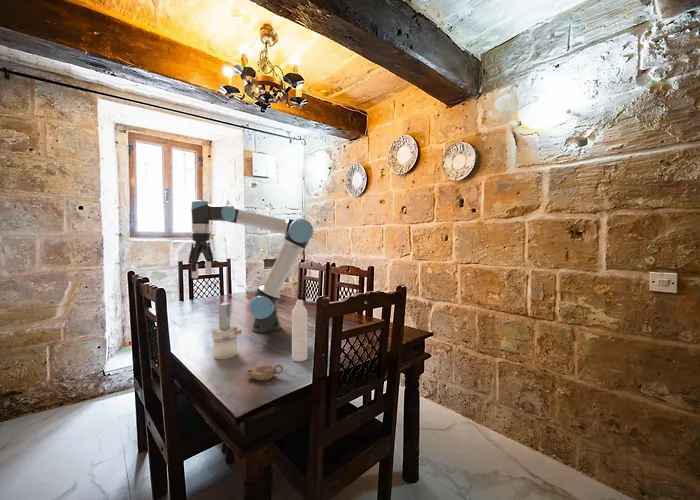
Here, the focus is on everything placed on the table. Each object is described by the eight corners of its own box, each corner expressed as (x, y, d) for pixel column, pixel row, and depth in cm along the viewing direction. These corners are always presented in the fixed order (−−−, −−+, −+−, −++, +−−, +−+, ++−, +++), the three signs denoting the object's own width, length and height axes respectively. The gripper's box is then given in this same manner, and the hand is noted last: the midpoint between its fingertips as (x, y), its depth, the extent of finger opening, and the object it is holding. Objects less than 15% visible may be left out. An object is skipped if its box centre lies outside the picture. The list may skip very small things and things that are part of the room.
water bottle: (294, 363, 125) (294, 302, 124) (290, 357, 131) (289, 299, 130) (314, 359, 129) (314, 300, 128) (309, 353, 135) (309, 297, 134)
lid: (207, 339, 128) (206, 306, 127) (219, 331, 139) (218, 301, 138) (235, 340, 127) (234, 307, 127) (245, 332, 138) (245, 301, 137)
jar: (238, 349, 139) (237, 332, 139) (236, 358, 130) (235, 339, 130) (215, 351, 137) (215, 334, 136) (211, 360, 128) (211, 341, 127)
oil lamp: (243, 382, 109) (243, 369, 109) (250, 373, 117) (250, 360, 116) (280, 383, 109) (280, 369, 108) (285, 373, 116) (285, 360, 116)
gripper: (205, 232, 162) (206, 272, 163) (178, 232, 137) (180, 280, 138) (219, 232, 162) (220, 272, 163) (195, 232, 137) (196, 280, 138)
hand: (202, 276), depth 151 cm, fingers open, 13 cm apart
